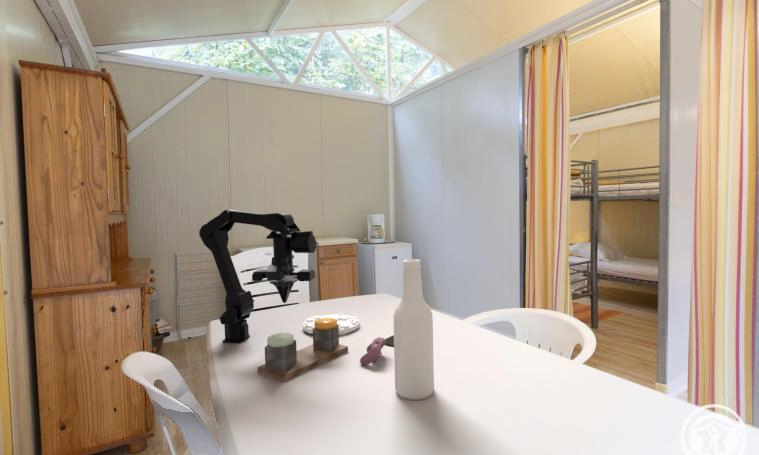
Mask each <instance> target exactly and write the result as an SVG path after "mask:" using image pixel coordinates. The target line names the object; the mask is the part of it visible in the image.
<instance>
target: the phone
mask: <svg viewBox="0 0 759 455" xmlns="http://www.w3.org/2000/svg"><path fill="white" fill-rule="evenodd" d="M384 339H385V344H384V346H387V347H392V348H394V334H393V335H391V336H389V337H386V338H384Z"/></svg>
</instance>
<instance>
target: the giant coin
mask: <svg viewBox="0 0 759 455" xmlns="http://www.w3.org/2000/svg"><path fill="white" fill-rule="evenodd" d="M322 318H334V319H336V320H337V324H338V326H339V336H341V335H342V336H343V335H347V334H348V333H350V332H351V333H352V332H353V331H355V330H357V329H359V328H360V325H361V324H360V319H359V318H358V317H357V316H355V315H354V316H353V315H347V314H343V313H341V312H340V313H337V314H325V315H313V316H310V317H307V318H306V320H305V321H304V322H303V323H302V329H303V331H304V332H306V333H308V334H312V335H313V329H314V328H315V327H314V321H315V320H318V319H322Z"/></svg>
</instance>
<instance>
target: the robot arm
mask: <svg viewBox="0 0 759 455" xmlns="http://www.w3.org/2000/svg"><path fill="white" fill-rule="evenodd" d="M235 223H236V224H244V225H250V226H251V225H253V226H259V227H263V228H264V229H266V230H269V231H270V233H269V234H268V235H267V236H266V237H265V238H266V239H267V240H268V239H269V240H272V247H273V249H272V250H273V251H272V252H273V256H272V257H271V263H270V264H269V266H267V267H266V269H259V270H256V271H253V272H252V274H251V281H253V282H262V281H263V280H264V279H266V281H269V284H270V285H271V284H272V285H273V286H275V288H276V290H277V292H278V294H279V296H280V298H281V301H282V303H283V304H286V303H287V302H288V300H289V296H290V294H291V291H292V288H293V287H294V285H295V283H296V282H311V281H312V280H314V279H316V272H315V270H314V269H301V270H299V271H296V272H295V267H294V264H293V263H294V262H293V259H295V256H294V254H293V253H295V254H314V253H315V252H316V250H317V240H316V236H315V235H314V231H313V230H306V231H302V230H301V229H300V228H299V226H298V225H297V224H296V222H295V221H294V217H293V215H292V214H291V213H289V212H275V213H274V212H273V213H259V212H250V211H243V210H236V209H224V210H223V211H222V212H221V213H220V214H219V215H217V216H215V217H214V218H212V219H210V220H209V221H207V223H205V224H204V223H203V225H202V226H201V227H200V230H199V231H198V236H199V237H200V239H201V241H202V243H203V245H204V246H205V247H206V248H207V249H208V250H209V251H210V252H211V254H212V257H213V260H214V261H215V265H216V267H217V271H218V274H219V276H220V279H221V282H222V285H223V286H224V290H225V293H226V294H225V301H224V305H225V309H226V310H225V311H224V312H223V314H222V315H221V316H220V317H219V322H220V325H224V339H222V340H221V341H222V343H237V344H239V343H240V344H241V343H243V342H244V341H246V339H248V338H250V337H251V335H250V333H249V324H248V320H247V319H249V318H250V317H251V313H252V312H253V310H254V308H255V305H254V303H255V300H254V298H253V296H252V292H251V291H250V290H248V291H246V290H245V289H244V288H243V287H242V284H241V281H240V279H239V276H238V273H237V270H236V268H235V265H234V262H233V259H232V256H231V254H230V250H229V247H228V245H229V244H228V243H229V240H230V239H229V232H230V231H231V230H232V229H233V227H234V225H235Z"/></svg>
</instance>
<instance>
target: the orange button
mask: <svg viewBox="0 0 759 455" xmlns="http://www.w3.org/2000/svg"><path fill="white" fill-rule="evenodd" d="M314 327H315V328H316V329H319V330H332V329H333V328H335V327H337V320H336V319H334V318H322V319H318V320H315V321H314Z"/></svg>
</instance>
